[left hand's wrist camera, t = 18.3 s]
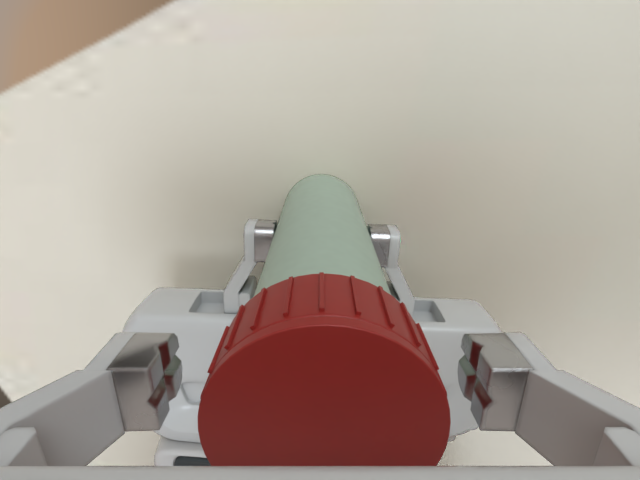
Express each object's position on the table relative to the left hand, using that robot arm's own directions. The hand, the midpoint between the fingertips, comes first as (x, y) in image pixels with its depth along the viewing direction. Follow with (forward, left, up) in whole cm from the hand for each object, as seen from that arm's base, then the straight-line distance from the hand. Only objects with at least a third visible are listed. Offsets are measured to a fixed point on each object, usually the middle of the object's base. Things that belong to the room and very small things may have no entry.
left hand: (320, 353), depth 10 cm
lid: (0, 0, +2) cm, 2 cm away
